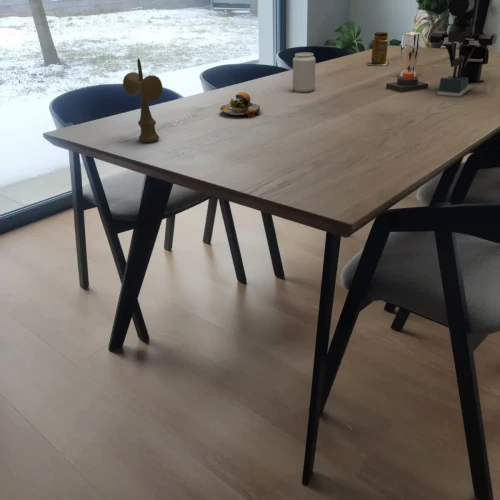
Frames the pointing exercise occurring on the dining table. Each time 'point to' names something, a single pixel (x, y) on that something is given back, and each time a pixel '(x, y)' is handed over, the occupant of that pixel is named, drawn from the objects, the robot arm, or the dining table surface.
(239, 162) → the dining table surface
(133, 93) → the kendama
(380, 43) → the condiment
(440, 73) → the dining table surface
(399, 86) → the switch block
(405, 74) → the power button
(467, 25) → the robot arm
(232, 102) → the burger
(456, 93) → the iron
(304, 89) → the can
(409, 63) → the beer glass
